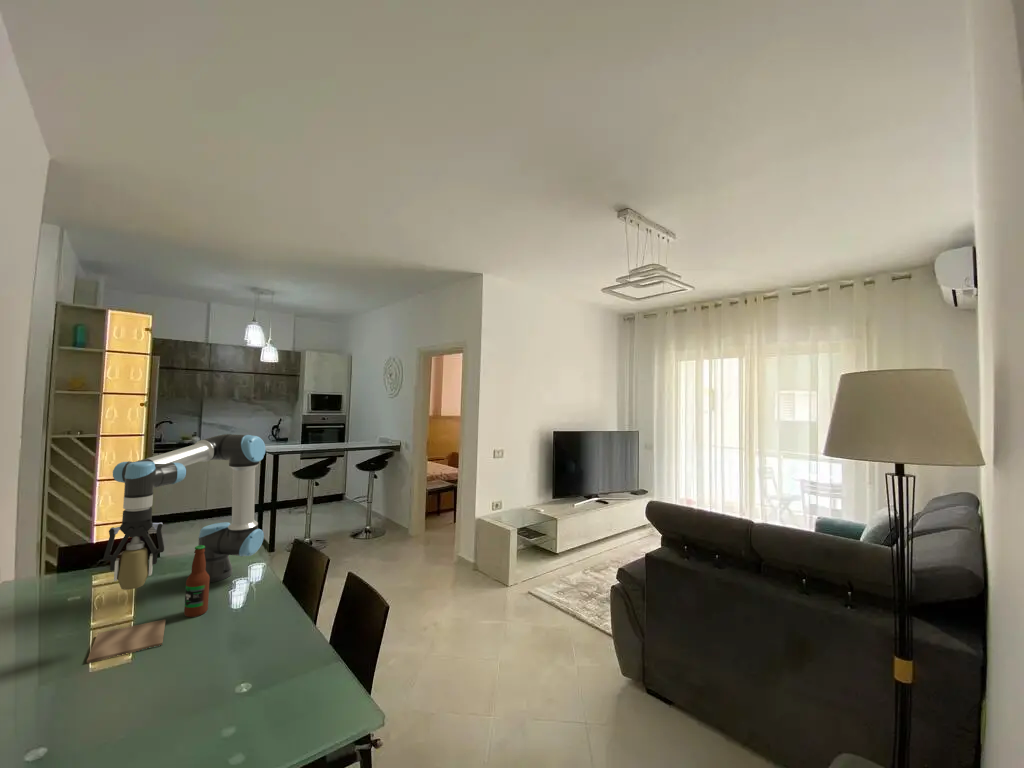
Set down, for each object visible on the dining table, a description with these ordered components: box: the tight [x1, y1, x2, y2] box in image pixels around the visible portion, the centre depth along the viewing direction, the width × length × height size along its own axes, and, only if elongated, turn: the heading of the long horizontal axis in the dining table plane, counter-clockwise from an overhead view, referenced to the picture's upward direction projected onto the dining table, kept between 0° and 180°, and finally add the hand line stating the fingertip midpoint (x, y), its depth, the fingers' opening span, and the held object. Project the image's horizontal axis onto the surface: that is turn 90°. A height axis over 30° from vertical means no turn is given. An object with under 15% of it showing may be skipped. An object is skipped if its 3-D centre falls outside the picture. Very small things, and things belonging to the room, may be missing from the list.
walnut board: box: [86, 619, 166, 664], centre depth 146 cm, size 18×18×1 cm
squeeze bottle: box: [117, 536, 149, 591], centre depth 146 cm, size 8×8×18 cm
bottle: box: [183, 544, 210, 618], centre depth 165 cm, size 7×7×25 cm
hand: (133, 576), depth 146 cm, fingers closed on squeeze bottle, 8 cm apart
